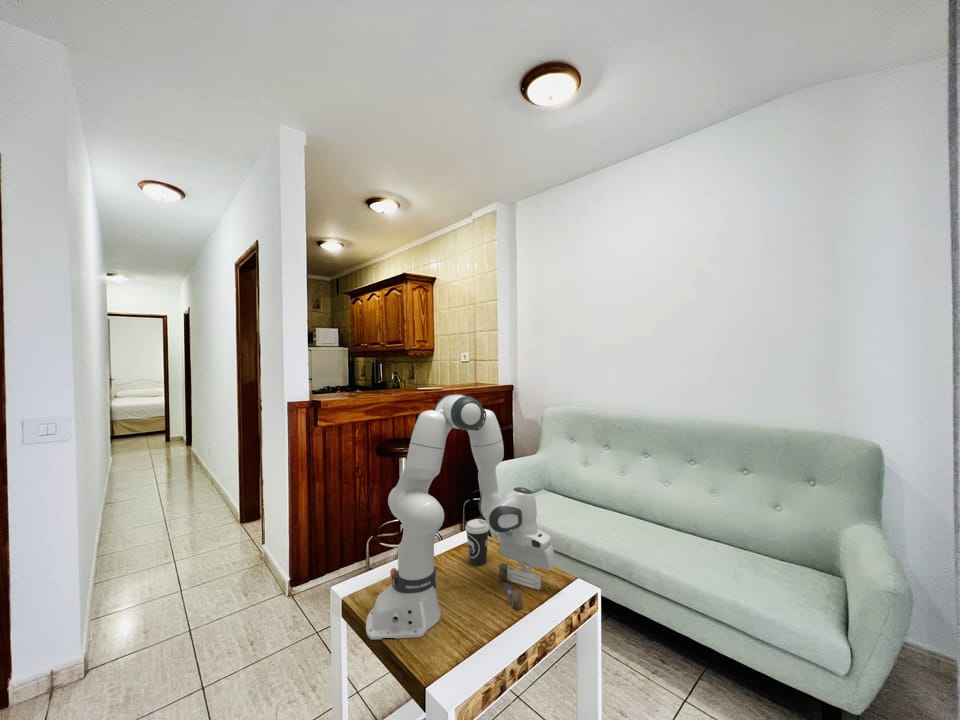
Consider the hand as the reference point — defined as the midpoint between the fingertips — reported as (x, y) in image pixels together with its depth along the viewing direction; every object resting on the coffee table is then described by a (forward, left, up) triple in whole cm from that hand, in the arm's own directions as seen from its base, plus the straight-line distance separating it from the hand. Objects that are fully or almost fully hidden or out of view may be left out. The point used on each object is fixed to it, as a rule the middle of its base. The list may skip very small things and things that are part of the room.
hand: (526, 574), depth 133 cm
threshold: (-7, -3, -3) cm, 8 cm away
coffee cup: (-13, +20, -4) cm, 24 cm away
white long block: (-2, -1, -2) cm, 3 cm away
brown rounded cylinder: (-8, -10, -3) cm, 13 cm away
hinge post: (-7, +5, -3) cm, 9 cm away
